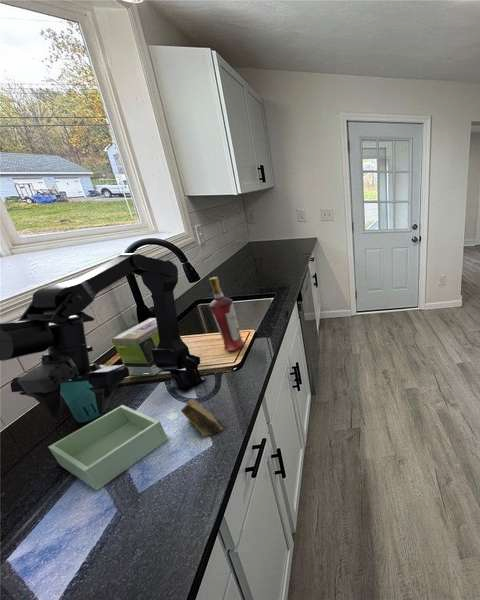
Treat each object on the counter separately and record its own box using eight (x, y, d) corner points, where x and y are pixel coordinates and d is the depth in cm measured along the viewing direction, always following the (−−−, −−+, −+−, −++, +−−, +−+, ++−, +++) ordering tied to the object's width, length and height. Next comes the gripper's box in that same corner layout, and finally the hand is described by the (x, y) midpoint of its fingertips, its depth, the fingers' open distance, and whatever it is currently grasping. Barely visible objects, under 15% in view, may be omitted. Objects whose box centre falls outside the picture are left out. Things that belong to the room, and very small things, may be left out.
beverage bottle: (90, 428, 83) (54, 365, 75) (71, 426, 85) (33, 363, 77) (115, 411, 89) (83, 351, 81) (97, 409, 90) (64, 349, 83)
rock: (174, 415, 82) (167, 437, 74) (189, 386, 83) (184, 404, 74) (218, 424, 88) (216, 445, 79) (232, 396, 88) (231, 414, 79)
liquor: (228, 344, 121) (207, 275, 111) (248, 342, 122) (228, 273, 111) (221, 354, 115) (197, 282, 104) (241, 352, 115) (219, 280, 104)
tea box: (164, 351, 119) (150, 316, 113) (187, 352, 118) (174, 317, 112) (127, 375, 105) (109, 337, 100) (153, 376, 104) (136, 338, 98)
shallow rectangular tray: (131, 421, 85) (122, 404, 83) (168, 439, 78) (159, 421, 76) (60, 465, 73) (47, 446, 70) (96, 490, 66) (84, 471, 64)
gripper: (-30, 360, 57) (-14, 440, 59) (82, 353, 60) (94, 431, 61) (33, 345, 68) (45, 412, 70) (126, 339, 70) (135, 405, 72)
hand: (79, 415), depth 68 cm, fingers open, 9 cm apart
